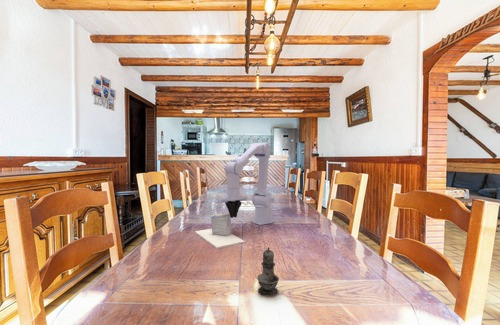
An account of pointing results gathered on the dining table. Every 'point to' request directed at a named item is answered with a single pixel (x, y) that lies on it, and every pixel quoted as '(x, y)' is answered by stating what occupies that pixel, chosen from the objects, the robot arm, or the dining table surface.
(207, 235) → the mat
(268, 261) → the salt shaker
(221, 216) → the medicine box
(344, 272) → the dining table surface
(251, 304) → the dining table surface
